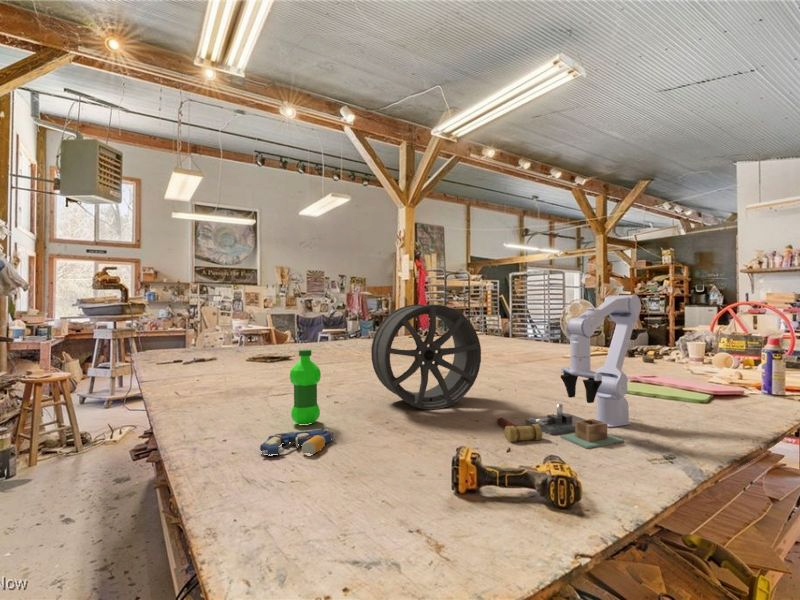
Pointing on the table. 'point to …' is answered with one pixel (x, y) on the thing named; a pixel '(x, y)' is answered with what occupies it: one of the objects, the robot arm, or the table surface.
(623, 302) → the robot arm
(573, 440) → the mat
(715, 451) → the table surface
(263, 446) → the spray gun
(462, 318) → the car wheel rim
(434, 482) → the table surface
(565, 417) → the vise
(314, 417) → the plastic bottle
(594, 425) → the sleeve block
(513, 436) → the gavel
